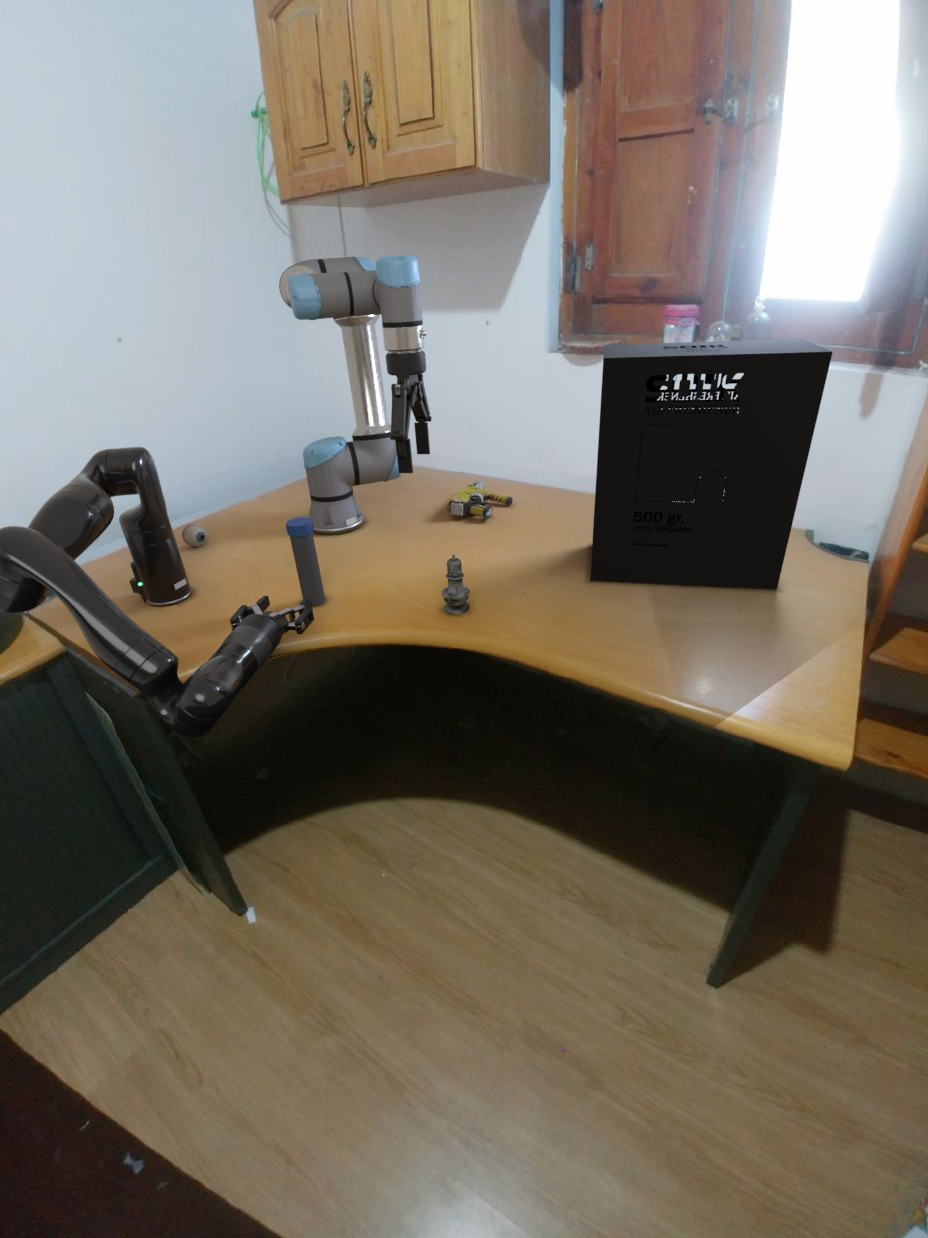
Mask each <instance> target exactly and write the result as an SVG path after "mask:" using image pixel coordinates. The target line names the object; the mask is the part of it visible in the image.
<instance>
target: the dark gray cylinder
mask: <svg viewBox="0 0 928 1238" xmlns="http://www.w3.org/2000/svg"><path fill="white" fill-rule="evenodd" d="M314 538H315V537H314V532H313V533H311V534H309V535H307V536H303V537H291V536H289V539H290V545H291V548H292V549H291V550H292V554H293V559H294V564H295V567H296V568H295V569H296V573H297V578H298V582H299V587H300V590H301V591H300V592H301V596H302V600H303V599H304V598H305V597H310V599H311V601H312V608H314V607H319V606H321V605H323V604H325V602H326V596H325V591H324V585H323V580H322V579H323V578H322V574H321V569H320V564H319V558H318V553H317V548H316V543H315V539H314Z"/></svg>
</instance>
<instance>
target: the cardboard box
mask: <svg viewBox="0 0 928 1238" xmlns="http://www.w3.org/2000/svg"><path fill="white" fill-rule="evenodd" d="M833 353H834V352H833V350H830V349H827V348H826V347H825V348H824V347H822V346H821V345H818V344H815V343H813V342H810V341H808V340H805V339H802V338H783V339H782V338H781V339H779V338H777V339H776V338H775V339H749V340H747V339H746V340H723V341H722V340H720V341H719V340H718V341H689V342H687V341H685V342H683V341H682V342H657V343H654V342H653V343H627V344H625V343H624V344H623V343H621V344H604V345H603V359H602V362H603V363H602V375H601V389H600V390H601V392H600V409H599V424H598V425H599V426H598V427H599V428H598V442H597V457H596V458H597V459H596V460H597V461H596V475H595V493H594V496H595V497H594V508H593V509H594V510H593V525H592V527H593V528H592V541H591V557H590V558H591V560H590V575H589V576H590V577H589V580H590V582H603V583H622V584H623V583H625V584H626V583H628V584H645V585H647V584H648V585H669V586H670V585H671V586H693V587H712V588H714V587H715V588H734V589H735V588H737V589H755V590H757V589H758V590H759V589H760V590H778V586H779V582H780V577H781V574H782V570H783V565H784V561H785V556H786V553H787V548H788V543H789V539H790V536H791V531H792V526H793V522H794V519H795V513H796V510H797V505H798V501H799V497H800V493H801V489H802V484H803V480H804V476H805V471H806V467H807V464H808V463H807V462H808V458H809V455H810V450H811V446H812V442H813V437H814V434H815V430H816V425H817V421H818V417H819V411H820V407H821V404H822V400H823V399H822V398H823V394H824V390H825V386H826V381H827V378H828V374H829V369H830V366H831V360H832V356H833ZM738 374H742V376H741V377H740V378H735V376H736V375H738ZM678 375H681V379H680V380H679V384H678V388H675V385H676V379H675V377H676V376H678ZM689 375H693V380H692V381H691V379H688V376H689ZM702 375H704V379H702ZM719 378H720V382H719ZM724 378H725V382H724ZM723 382H724V385H730V384H731V385H734V388H725V387H724V386H723ZM691 383H692V385H695V388H691ZM705 385H710V388H704V386H705ZM662 387H666V389H662Z"/></svg>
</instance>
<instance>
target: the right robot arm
mask: <svg viewBox="0 0 928 1238" xmlns="http://www.w3.org/2000/svg"><path fill="white" fill-rule="evenodd" d="M278 282H279V283H278V284H279V285H278V288H279V294H280V296H281V299H282V300H283V302H284V303H285V304H286V306H287V307H288V308H290V309H291V311H292V314H293V316H294V318H295V319H297V320H299V321H303V320H304V321H305V320H306V321H316V320H325V319H333V323H334V324H336V326H338V327H339V328H340V330H341V336H342V337H341V338H342V343H343V350H344V356H345V363H346V369H347V376H348V381H349V387H350V394H351V401H352V408H353V413H354V420H355V429H354V430H353V431H352V433H351V437H352V441H347V440H346V438H345V437H343V436H341V435H340V436H329V437H323V438H320V439H317V440H314V441H312V442H310V443H308V444H307V445H306V446H305V447H304V448H303V450H302V457H303V467H304V469H305V474H306V475H305V476H306V480H307V486H308V492H309V498H310V507H309V513H308V518H311V520H312V523H313V528H314V531H313V534H317V535H323V536H324V535H325V536H327V535H329V536H331V535H339V534H340V535H341V534H345V533H350V532H353V531H355V530H357V529H359V528H361V527H362V526H363V525H364V523H365V519H364V514H363V512H362V510H361V508H360V505H359V504H358V501H357V500H356V498H355V495H354V489H353V487H355V486H356V487H357V486H364V485H369V484H376V483H381V482H384V483H387V482H389V481H393V480H397V479H399V478H401V476H402V475H403V474H413V473H414V468H413V456H412V455H413V454H412V446H411V438H409V433H410V424H411V423H410V422H411V416H412V415H411V413H412V414H413V417H414V420H415V422H414V424H413V425H414V434H415V435H414V436H415V445H416V447H415V448H416V455H430V454H431V450H430V449H431V448H430V447H431V446H430V435H429V434H430V433H429V423H428V422H432V416H431V411H430V407H429V401H428V398H427V393H426V389H425V383H424V374H425V373H426V372H427V359H426V352H425V351H424V350H422V349H424V348H425V337H426V336H427V331H426V330H424V325H423V324H424V323H423V307H422V295H421V293H422V292H421V274H420V270H419V262H418V259H417V257H416V256H414V255H412V254H410V255H409V254H407V255H390V256H379V257H378V258H376V261H375V262H374V261H373V260H372V259H371V258H369V257H364V256H345V257H329V258H310V259H306V260H301V261H299V262H296V263H293V264H292V265H290V266H288V267H287V268H285V270H284V271H283V272H282V273H281V276H280V278H279V281H278ZM380 318H381V325H382V339H383V349H384V350H385V351H386V352H387V353H386V355H385V364H386V372H387V374H388V375H389V376H395V377H396V383H391V386H390V389H391V390H390V391H391V417H390V418H391V419H390V423H389V418H388V411H387V403H386V397H385V390H384V389H385V388H384V382H383V374H382V367H381V360H380V353H379V346H378V337H377V329H376V324H377V322H378V320H379V319H380Z"/></svg>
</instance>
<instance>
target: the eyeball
mask: <svg viewBox="0 0 928 1238" xmlns="http://www.w3.org/2000/svg"><path fill="white" fill-rule="evenodd" d="M181 537H182V540H183V541H184V543H185V544H186V545H188V546H190V547H193V548H198V547H201V546H203V545H204V544H205V543H206V541H207V539H208V533H207V531H206V529H205V528H204V527H203V526H202V525H200V524H198V523H190V524H188V525H186V526H185V527H184V528H183V529H182V533H181Z"/></svg>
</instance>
